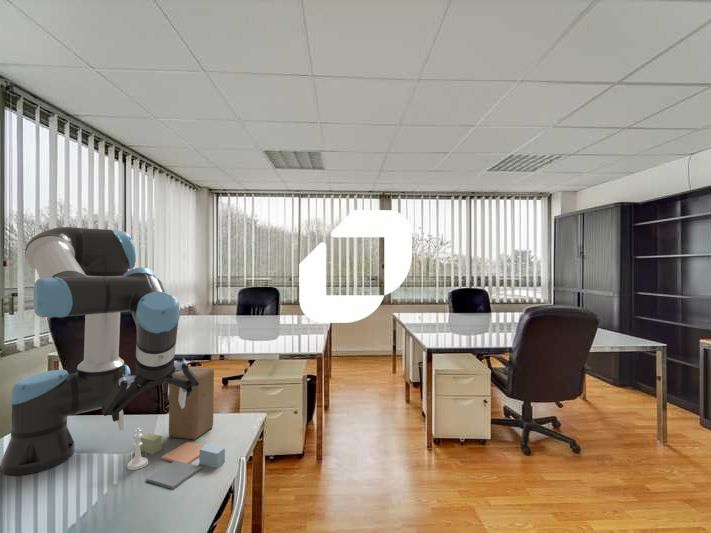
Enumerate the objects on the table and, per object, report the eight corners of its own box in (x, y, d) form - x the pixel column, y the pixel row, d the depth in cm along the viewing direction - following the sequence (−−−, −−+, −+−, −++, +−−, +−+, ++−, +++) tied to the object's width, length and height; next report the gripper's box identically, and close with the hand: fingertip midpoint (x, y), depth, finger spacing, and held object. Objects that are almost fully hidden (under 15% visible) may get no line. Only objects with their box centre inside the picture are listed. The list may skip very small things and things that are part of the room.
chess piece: (145, 468, 95) (145, 431, 95) (124, 471, 93) (124, 433, 93) (150, 458, 100) (150, 423, 100) (130, 461, 98) (130, 425, 98)
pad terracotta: (161, 458, 100) (161, 456, 100) (186, 443, 108) (186, 441, 108) (186, 465, 97) (186, 463, 97) (210, 449, 105) (210, 447, 105)
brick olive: (137, 450, 104) (137, 436, 104) (146, 445, 107) (146, 432, 107) (152, 454, 102) (152, 440, 102) (161, 449, 105) (161, 435, 105)
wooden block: (195, 441, 110) (196, 376, 110) (167, 437, 112) (168, 374, 112) (214, 426, 120) (215, 367, 120) (188, 423, 122) (189, 365, 122)
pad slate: (146, 480, 89) (146, 478, 89) (175, 462, 98) (175, 460, 98) (173, 489, 86) (173, 486, 86) (201, 469, 95) (201, 467, 95)
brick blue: (199, 464, 98) (199, 449, 98) (207, 458, 100) (207, 444, 100) (217, 468, 96) (217, 453, 96) (224, 462, 98) (224, 448, 98)
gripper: (89, 387, 68) (93, 450, 78) (218, 351, 85) (208, 407, 95) (82, 359, 72) (87, 422, 82) (207, 330, 89) (198, 386, 99)
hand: (152, 414), depth 89 cm, fingers open, 13 cm apart
